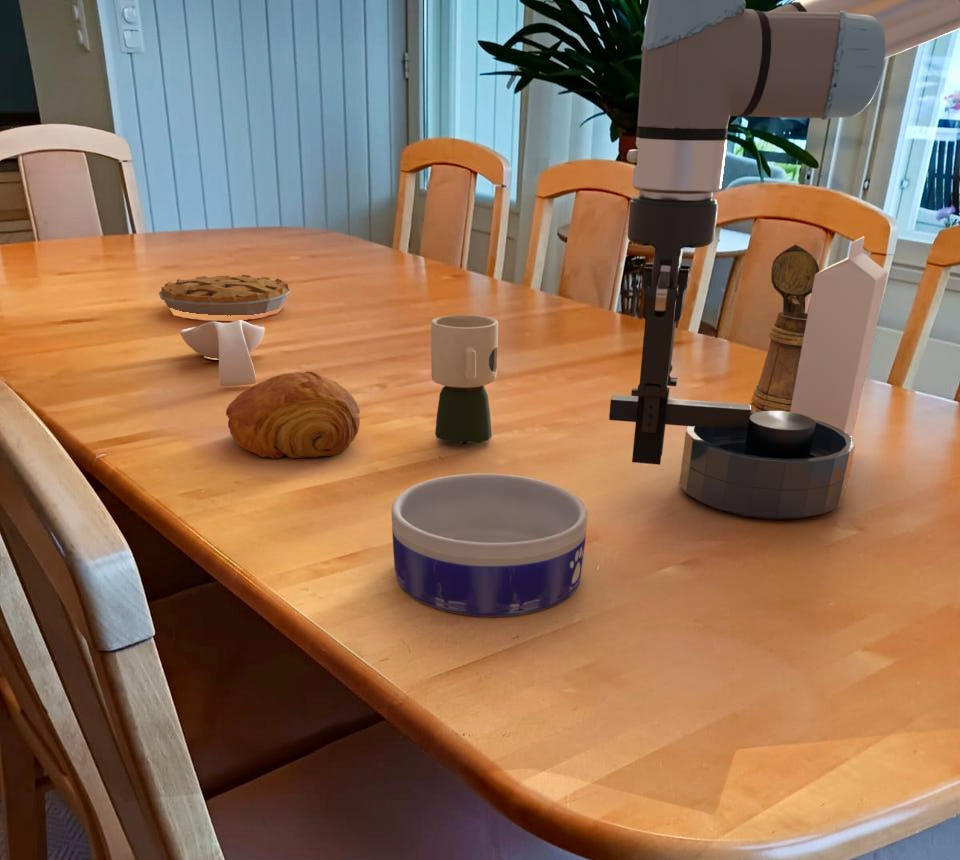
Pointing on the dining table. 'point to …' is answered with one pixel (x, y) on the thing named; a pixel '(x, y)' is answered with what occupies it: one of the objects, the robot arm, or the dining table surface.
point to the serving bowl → (766, 474)
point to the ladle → (734, 424)
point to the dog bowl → (488, 543)
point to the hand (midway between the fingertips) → (647, 457)
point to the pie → (225, 295)
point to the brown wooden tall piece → (786, 329)
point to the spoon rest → (227, 348)
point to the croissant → (294, 417)
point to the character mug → (464, 375)
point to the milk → (839, 339)
